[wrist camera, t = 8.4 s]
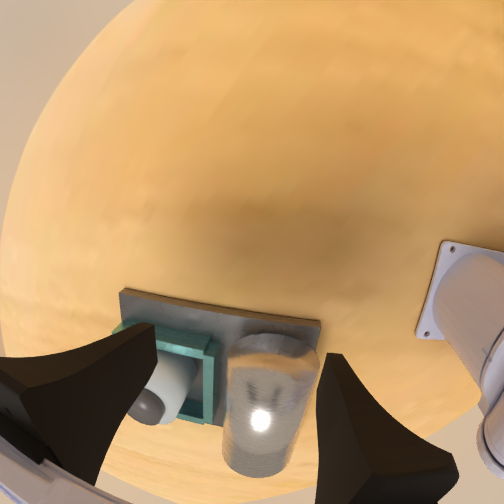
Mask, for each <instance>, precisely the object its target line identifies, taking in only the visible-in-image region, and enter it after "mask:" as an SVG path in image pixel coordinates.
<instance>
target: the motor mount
mask: <svg viewBox="0 0 504 504" xmlns="http://www.w3.org/2000/svg"><path fill="white" fill-rule="evenodd" d="M119 300H120V310H121V319H122V323H121V324H119V325H118V326H117V327H116V328H115V329H114V330H113V331H112V335H113V334H115V333H117V332H119V331H121V330H124V329H126V328H128V327H130V326H133V325H135V324H137V323H140V322H145V323H149V324H154V325H155V337H156V347H157V349H160V350H164V351H168V352H172V353H177V354H181V355H185V356H190V357H192V359H193V360H194V362H195V365H196V368H197V375H196V378H195V380H194V382H193V384H192V386H191V388H190V390H189V392H188V394H187V396H186V398H185V400H184V402H183V404H182V406H181V408H180V410H179V412H178V414H177V416H176V418H178V419H182V420H186V421H190V422H194V423H198V424H202V425H204V423H207V424H212V425H216V426H221V427H223V441H222V455H223V458H224V460H225V462H226V463H227V465H228V466H229V467H230V468H231V469H233V470H234V471H235V472H237V473H239V474H241V475H244V476H247V477H253V478H264V477H269V476H272V475H275V474H277V473H279V472H280V471H282V470H283V469H284V468H285V467H286V466H287V464H288V462H289V460H290V457H291V455H292V452H293V449H294V447H295V444H296V441H297V438H298V435H299V432H300V429H301V426H302V423H303V420H304V417H305V414H306V411H307V408H308V405H309V402H310V399H311V395H312V392H313V389H314V385H315V382H316V379H317V375H318V372H319V368H320V361H319V358H318V356H317V354H316V353H315V350H316V346H317V342H318V337H319V333H320V329H321V325H320V321H316V320H308V319H300V318H292V317H285V316H277V315H270V314H263V313H257V312H250V311H244V310H237V309H231V308H225V307H219V306H213V305H208V304H202V303H196V302H191V301H186V300H180V299H175V298H170V297H165V296H160V295H155V294H150V293H145V292H140V291H136V290H131V289H127V288H124V289H123V290H122V291H120V292H119Z"/></svg>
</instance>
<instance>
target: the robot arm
mask: <svg viewBox="0 0 504 504" xmlns="http://www.w3.org/2000/svg"><path fill="white" fill-rule="evenodd" d="M452 246H453V250H452V251H451V252H450V248H451V247H452ZM427 331H428V333H427V334H425V332H427ZM415 335H416V337H417V338H419V339H435V340H447V341H448V343H449V344H450V345H451V347H452V348H453V350H454V351H455V353H456V354H457V355H458V357H459V358H460V360H461V361H462V363H463V364H464V366H465V367H466V369H467V370H468V372H469V373H470V375H471V376H472V378H473V380H474V381H475V383H476V384H477V386H478V387H479V389H480V391H481V392H482V395H481V399H480V401H479V403H478V406H479V408H480V410H481V411H482V413H483V415H484V418H483V420H482V422H481V423H480V425H479V428H478V431H477V447H478V451H479V454H480V456H481V458H482V460H483V462H484V464H485V465H486V466H487V467H488V469H489V470H490V471H491V472H492V473H494V474H495V475H496V476H498V477H499V478H502V479H504V252H500V251H495V250H491V249H486V248H481V247H476V246H471V245H466V244H461V243H456V242H451V241H444V242H442V244H441V246H440V250H439V254H438V258H437V262H436V266H435V270H434V274H433V278H432V281H431V285H430V288H429V292H428V295H427V298H426V301H425V305H424V308H423V311H422V314H421V317H420V320H419V323H418V325H417V328H416V331H415ZM157 363H158V357H157V347H156V337H155V325H154V324H149V323H145V322H140V323H137V324H135V325H133V326H130V327H128V328H126V329H124V330H121V331H119V332H117V333H115V334H113V335H110V336H108V337H106V338H103V339H101V340H98V341H96V342H93V343H91V344H88V345H86V346H83V347H80V348H76V349H73V350H69V351H66V352H61V353H56V354H51V355H45V356H37V357H24V358H12V357H0V490H1V491H2V492H3V493H4V494H6V495H7V496H8V497H9V498H10V499H11V500H12V501H14V502H15V503H16V504H132V503H129V502H127V501H124V500H122V499H120V498H117V497H115V496H113V495H111V494H109V493H107V492H104V491H102V490H100V489H98V488H96V487H94V486H95V483H96V480H97V477H98V474H99V471H100V468H101V466H102V463H103V461H104V458H105V455H106V453H107V451H108V448H109V446H110V444H111V442H112V440H113V437H114V435H115V433H116V431H117V429H118V427H119V425H120V423H121V422H122V420H123V418H124V417H125V415H126V413H127V412H128V410H129V409H130V408H131V406H132V405H133V403H134V402H135V400H136V399H137V398H138V396H139V395H140V393H141V392H142V390H143V389H144V387H145V386H146V384H147V383H148V381H149V380H150V378H151V376H152V374H153V372H154V370H155V368H156V366H157ZM316 420H317V434H318V450H319V467H318V479H317V490H316V499H315V504H438V503H437V502H438V501H439V500H440V499H441V498H442V497H443V496H444V495H446V494H447V493H448V492H449V491H450V490H451V489H452V488H453V487H454V485H455V484H456V483H457V481H458V479H459V472H458V469H457V466H456V463H455V460H454V458H453V456H452V454H451V453H449V452H447V451H445V450H443V449H441V448H438V447H436V446H434V445H432V444H430V443H429V442H427V441H425V440H424V439H422V438H420V437H419V436H417V435H416V434H414V433H413V432H411V431H410V430H408V429H407V428H406V427H404V426H403V425H402V424H401V423H399V422H398V421H397V420H396V419H394V418H393V417H392V416H391V415H390V414H389V413H388V412H387V411H386V410H385V409H384V408H383V407H382V406H381V405H380V404H379V403H378V402H377V401H376V400H375V399H374V397H373V396H372V395H371V394H370V393H369V392H368V390H367V389H366V388H365V386H364V385H363V384H362V382H361V381H360V380H359V378H358V377H357V375H356V374H355V373H354V371H353V370H352V368H351V367H350V365H349V364H348V362H347V361H346V359H345V358H344V356H343V355H342V354H337V353H327V355H326V359H325V363H324V366H323V370H322V374H321V377H320V381H319V384H318V388H317V397H316Z"/></svg>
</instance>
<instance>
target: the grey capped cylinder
mask: <svg viewBox="0 0 504 504" xmlns="http://www.w3.org/2000/svg"><path fill="white" fill-rule="evenodd" d="M157 357H158V363H157V366H156V368H155V370H154V372H153V374H152V376H151V378H150V380H149V381H148V383H147V384H146V386H145V387H144V389H143V390H142V392H141V393H140V395H139V396H138V398H137V399H136V400H135V402H134V403H133V405H132V406H131V408H130V409H129V410H128V412H127V414H128V415H129V416H131V417H132V418H133V419H135V420H136V421H138V422H140V423H143V424H146V425H157V424H168V423H171V422H173V421H174V420H175V418H176V416H177V414H178V412H179V410H180V408H181V406H182V404H183V402H184V400H185V398H186V396H187V394H188V392H189V390H190V388H191V386H192V384H193V382H194V380H195V378H196V375H197V368H196V365H195V362H194V360H193V359H192V357H190V356H185V355H181V354H177V353H172V352H168V351H164V350H160V349H157Z"/></svg>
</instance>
